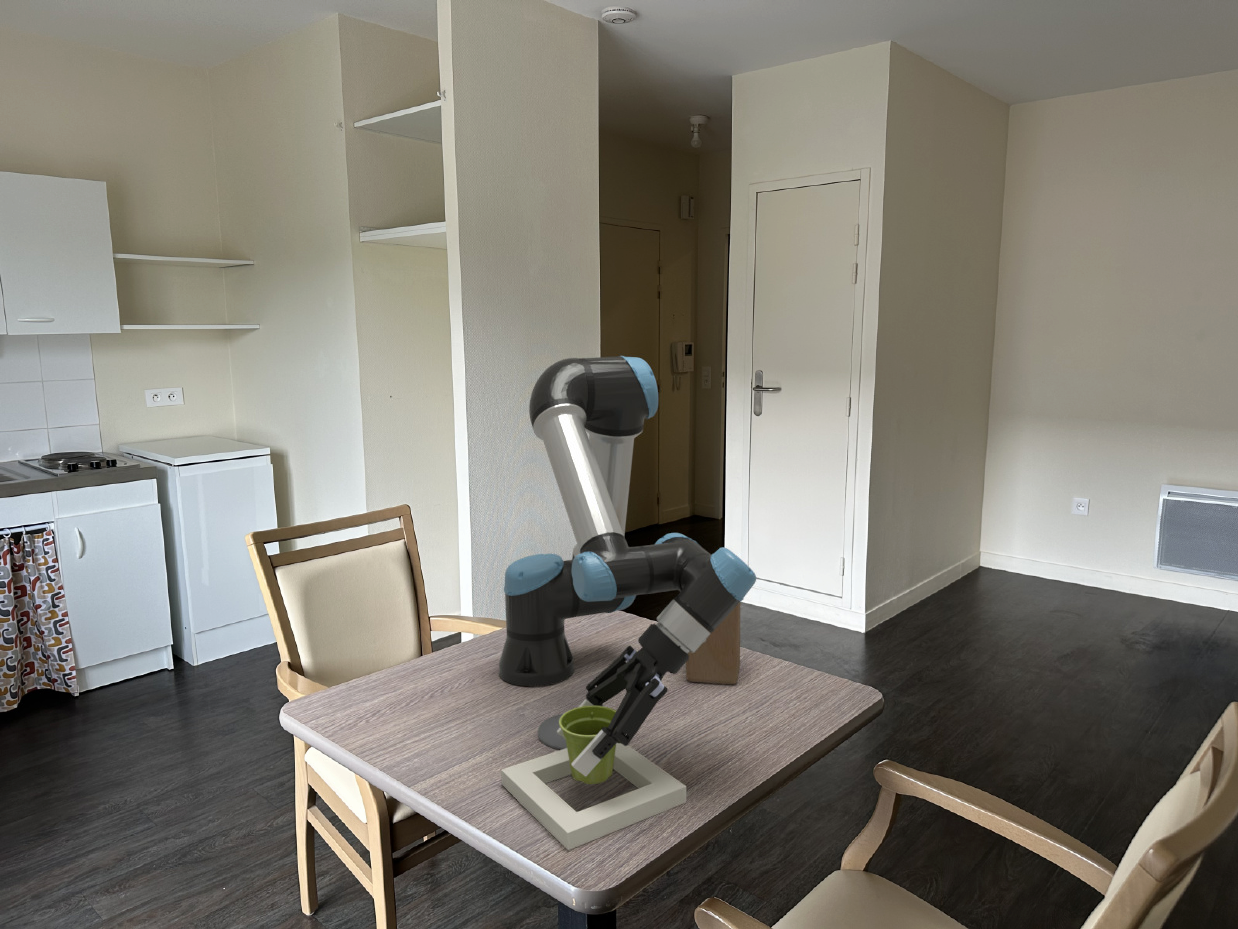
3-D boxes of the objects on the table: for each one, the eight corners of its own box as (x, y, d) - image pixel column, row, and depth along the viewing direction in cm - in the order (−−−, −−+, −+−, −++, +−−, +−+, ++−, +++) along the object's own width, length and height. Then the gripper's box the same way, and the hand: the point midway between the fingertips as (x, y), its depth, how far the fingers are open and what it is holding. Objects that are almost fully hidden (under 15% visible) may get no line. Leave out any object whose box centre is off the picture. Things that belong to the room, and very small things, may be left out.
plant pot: (631, 785, 122) (631, 729, 121) (568, 796, 120) (566, 739, 118) (613, 754, 131) (613, 701, 130) (554, 763, 129) (552, 710, 127)
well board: (501, 785, 129) (501, 769, 128) (611, 747, 140) (610, 733, 139) (568, 850, 112) (567, 833, 112) (686, 802, 123) (686, 786, 123)
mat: (524, 728, 147) (524, 725, 147) (588, 708, 154) (588, 705, 154) (562, 759, 136) (562, 755, 136) (628, 736, 143) (628, 733, 143)
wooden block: (737, 686, 163) (737, 586, 159) (685, 683, 165) (685, 584, 161) (740, 666, 172) (740, 571, 169) (691, 663, 174) (691, 569, 171)
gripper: (717, 683, 116) (608, 807, 115) (665, 627, 137) (572, 732, 136) (681, 651, 114) (569, 778, 112) (634, 599, 135) (538, 706, 133)
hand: (570, 753), depth 124 cm, fingers closed on plant pot, 9 cm apart
